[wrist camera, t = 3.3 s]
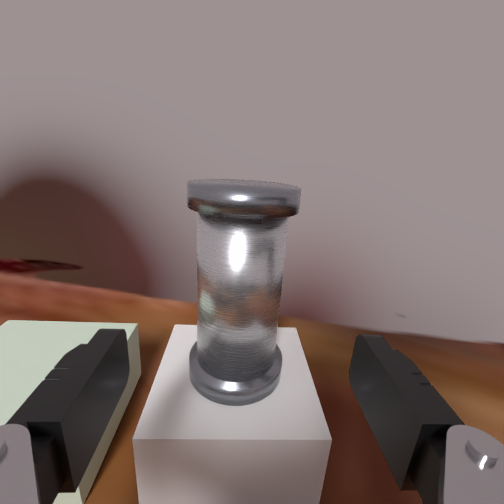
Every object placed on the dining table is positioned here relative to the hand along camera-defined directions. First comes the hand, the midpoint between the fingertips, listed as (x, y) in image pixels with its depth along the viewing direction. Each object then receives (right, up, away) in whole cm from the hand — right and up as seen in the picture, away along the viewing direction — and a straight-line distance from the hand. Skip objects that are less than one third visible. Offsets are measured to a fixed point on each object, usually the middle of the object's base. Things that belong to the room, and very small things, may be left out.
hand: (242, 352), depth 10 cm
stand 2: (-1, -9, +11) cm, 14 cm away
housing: (-1, -4, +9) cm, 10 cm away
